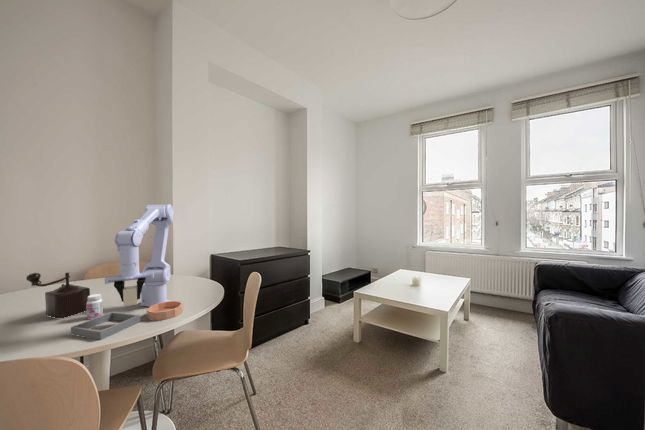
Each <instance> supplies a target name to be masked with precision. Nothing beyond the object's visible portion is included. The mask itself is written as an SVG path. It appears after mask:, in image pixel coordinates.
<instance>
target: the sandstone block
mask: <svg viewBox="0 0 645 430" xmlns="http://www.w3.org/2000/svg"><path fill="white" fill-rule="evenodd" d="M139 300H140V299H137V284H136V285H130V286H124V289H123V301H124V302H123V307H128V306H134V305H135V306H136V305H138V304H139Z"/></svg>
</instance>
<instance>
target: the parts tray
mask: <svg viewBox="0 0 645 430" xmlns="http://www.w3.org/2000/svg"><path fill="white" fill-rule="evenodd" d="M111 320H117V321H121V322H119V323H116V324H114V325H111V326H110V327H107V328H104V329H102V330H101V329H99V330H98V329H93V327H97V326H99V325H101V324H103V323H107V322H109V321H111ZM138 323H141V314H135V313H134V314H133V313H127V312H126V313H125V312H119V311H110V312H109V313H105V314H103V315H102V316H100V317H97V318H95V319H88V320H87V321H83V322H82V323H79V324H77V325H74V326H71V327H70V334H74V335H73V336H75V335H79V336H78V337H81V336H84V337H83V338H87V337H88V338H89V339H94V340H95V339H96V340H104V339H105V338H106V339H107V337H111V336H112V335H115V334H117V333H118V332H121V331H123V330H126V329H127V328H130V327H132V326H134V325H136V324H138ZM96 325H97V326H96ZM91 327H92V328H91ZM88 338H87V339H88Z"/></svg>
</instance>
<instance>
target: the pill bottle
mask: <svg viewBox="0 0 645 430" xmlns="http://www.w3.org/2000/svg"><path fill="white" fill-rule="evenodd" d="M87 300H88V302H87V303H86V305H87V311H86V318H87V320H92V319H95V318H97V317H100V316H102V315H104V305H103V304H104V303H103V302H104V301H103V299H102V294H101V293H96V294H90V296H88V299H87Z"/></svg>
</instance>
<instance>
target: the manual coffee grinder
mask: <svg viewBox="0 0 645 430" xmlns="http://www.w3.org/2000/svg"><path fill="white" fill-rule="evenodd" d="M64 275H65V276H64V277H62V278H60V279H58V280H54V281H51V282H46V283H42V281H41V280H40V279H41V277H42V275H41V273H39V272H33V273H29V274H28V275H27V276H26V277H25V279H26V281H28V282H29V283H31V287H34V286H36V287H47V286H50V285H54V284H58V283H61V282H63V281H65V284H64V283H62V284H61V286H60V287H58V288H56V289H55V288H54V290H50V291H46V292H45V294H44V298H45V314H46V315H45V316H47V315H48V316H51V317H55V318H63V319H65V318H64V317H66V318H69V317H72V316H71V315H73V316H75V314H76V315H79V314H82V313H85V312H87V305H86V303H87V302H88V300H87V299H88V296H90V295H91V290H90V287H86V286H82V285H76V284H70V277H71V276H70V273H69V272H65V273H64ZM84 311H85V312H84ZM81 312H82V313H81ZM78 313H79V314H78ZM48 316H47V317H48ZM68 316H69V317H68ZM51 317H50V318H51Z"/></svg>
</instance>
